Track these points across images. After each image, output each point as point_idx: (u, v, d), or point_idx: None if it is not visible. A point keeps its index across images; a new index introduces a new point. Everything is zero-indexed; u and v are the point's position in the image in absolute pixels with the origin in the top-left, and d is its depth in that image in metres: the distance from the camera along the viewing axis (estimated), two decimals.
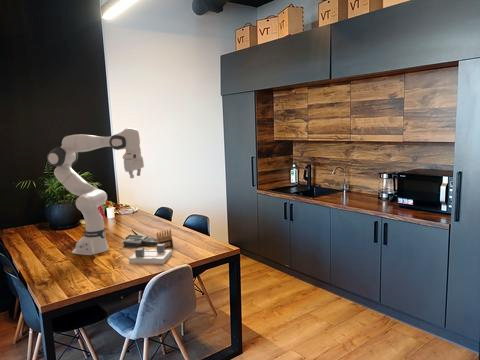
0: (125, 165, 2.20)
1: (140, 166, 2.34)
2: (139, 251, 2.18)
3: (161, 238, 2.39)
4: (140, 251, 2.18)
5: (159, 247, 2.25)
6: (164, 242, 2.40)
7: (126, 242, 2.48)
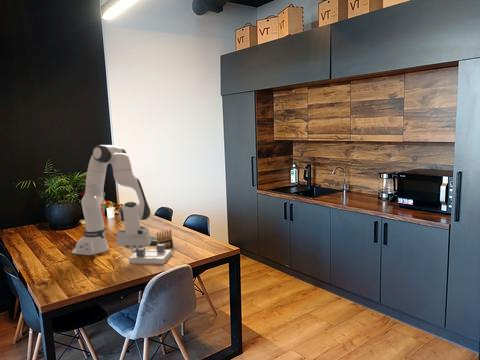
0: (148, 239, 2.17)
1: None
2: (140, 251, 2.18)
3: (161, 238, 2.39)
4: (141, 251, 2.18)
5: (159, 247, 2.25)
6: (164, 242, 2.40)
7: None
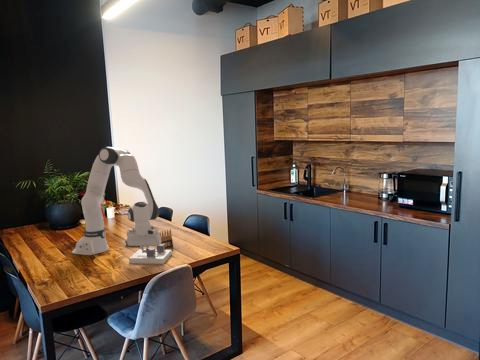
0: (159, 239, 2.16)
1: None
2: (150, 251, 2.17)
3: (161, 238, 2.39)
4: (151, 251, 2.17)
5: (159, 247, 2.25)
6: (164, 242, 2.40)
7: None
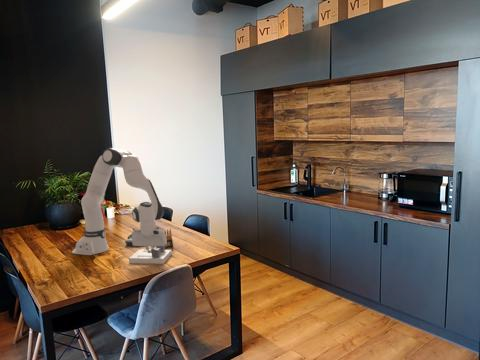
0: (164, 240, 2.15)
1: None
2: (155, 251, 2.17)
3: None
4: (156, 251, 2.17)
5: (159, 247, 2.25)
6: None
7: (128, 241, 2.49)
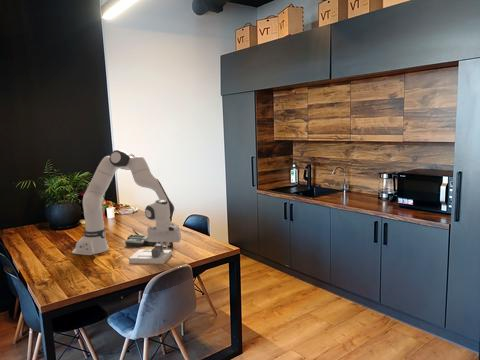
0: (179, 236, 2.22)
1: None
2: (155, 251, 2.17)
3: None
4: (156, 251, 2.17)
5: (157, 247, 2.25)
6: (164, 242, 2.40)
7: (128, 242, 2.48)
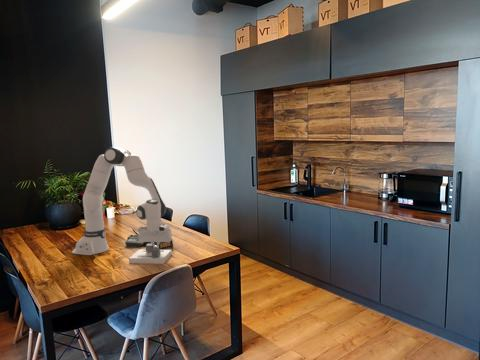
0: (170, 236, 2.23)
1: None
2: (155, 251, 2.17)
3: None
4: (156, 251, 2.17)
5: (148, 247, 2.26)
6: (164, 242, 2.40)
7: (128, 242, 2.47)
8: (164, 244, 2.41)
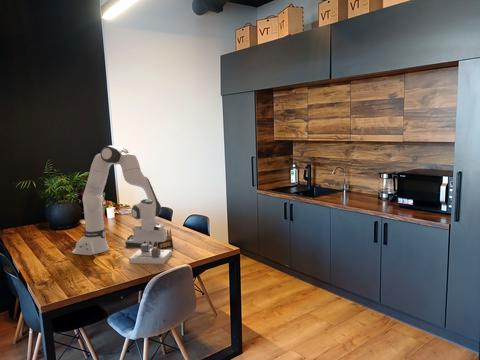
0: (164, 235, 2.24)
1: None
2: (155, 251, 2.17)
3: None
4: (156, 251, 2.17)
5: (143, 247, 2.26)
6: (164, 242, 2.40)
7: (128, 242, 2.47)
8: (164, 244, 2.41)
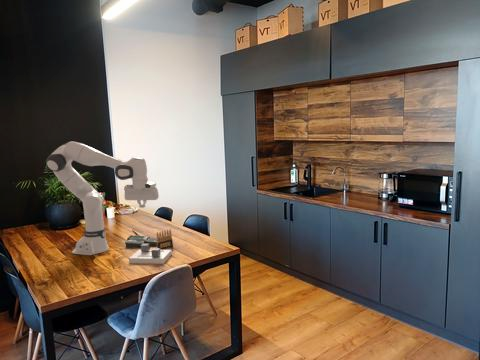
0: (156, 194, 2.19)
1: None
2: (155, 251, 2.17)
3: (161, 238, 2.39)
4: (156, 251, 2.17)
5: (143, 247, 2.26)
6: (164, 242, 2.40)
7: (128, 243, 2.46)
8: (164, 244, 2.41)
